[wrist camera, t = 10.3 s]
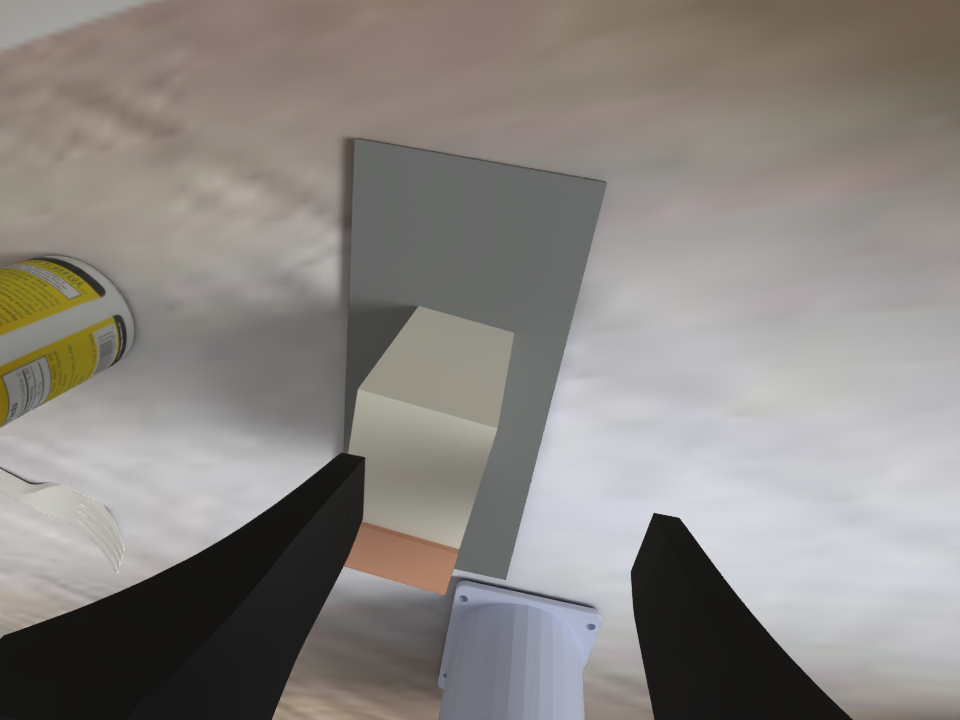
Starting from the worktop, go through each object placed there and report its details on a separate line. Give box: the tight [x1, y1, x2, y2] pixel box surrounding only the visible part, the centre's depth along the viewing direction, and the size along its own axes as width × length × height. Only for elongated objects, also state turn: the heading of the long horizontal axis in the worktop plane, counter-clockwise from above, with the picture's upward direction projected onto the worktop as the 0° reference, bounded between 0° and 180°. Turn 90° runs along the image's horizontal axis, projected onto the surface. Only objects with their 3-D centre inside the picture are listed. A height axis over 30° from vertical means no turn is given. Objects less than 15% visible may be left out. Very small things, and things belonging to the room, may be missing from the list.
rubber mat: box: [344, 138, 607, 580], centre depth 22 cm, size 20×9×1 cm, turn 171°
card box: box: [344, 306, 514, 595], centre depth 18 cm, size 4×7×7 cm, turn 166°
